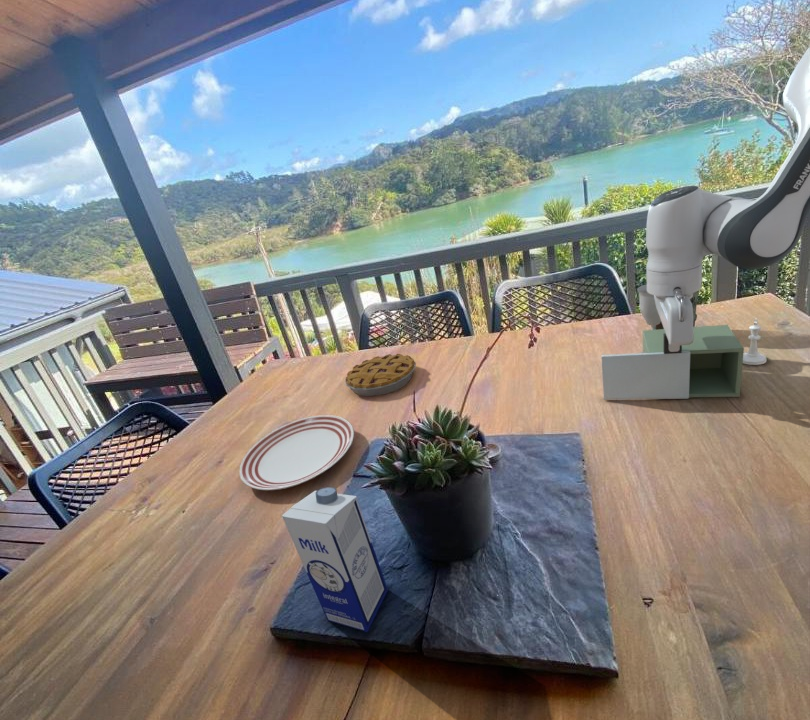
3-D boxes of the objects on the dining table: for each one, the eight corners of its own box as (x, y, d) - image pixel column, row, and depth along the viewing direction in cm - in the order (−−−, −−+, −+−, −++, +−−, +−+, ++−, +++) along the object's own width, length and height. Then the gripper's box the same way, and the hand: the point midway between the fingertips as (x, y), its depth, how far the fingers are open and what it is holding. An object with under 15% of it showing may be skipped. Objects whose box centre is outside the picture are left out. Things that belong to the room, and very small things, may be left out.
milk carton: (326, 620, 62) (279, 514, 55) (349, 580, 68) (310, 479, 60) (368, 632, 59) (325, 522, 52) (389, 589, 65) (353, 484, 57)
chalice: (644, 349, 113) (643, 282, 107) (673, 352, 109) (674, 283, 102) (633, 361, 109) (632, 292, 102) (663, 365, 104) (664, 293, 97)
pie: (404, 397, 119) (400, 381, 117) (336, 400, 127) (331, 385, 126) (426, 362, 138) (423, 348, 136) (365, 366, 146) (361, 353, 144)
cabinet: (739, 396, 87) (744, 348, 83) (648, 397, 94) (648, 352, 89) (724, 369, 97) (727, 324, 93) (643, 372, 104) (642, 330, 99)
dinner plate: (320, 503, 86) (315, 490, 85) (218, 494, 97) (212, 482, 96) (375, 425, 109) (371, 414, 108) (287, 425, 120) (283, 415, 119)
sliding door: (689, 399, 89) (691, 334, 84) (603, 400, 96) (600, 339, 90) (688, 396, 90) (690, 331, 85) (603, 397, 97) (600, 337, 91)
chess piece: (736, 363, 98) (739, 322, 94) (740, 354, 101) (743, 314, 97) (764, 366, 94) (769, 323, 91) (768, 356, 98) (772, 315, 94)
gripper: (705, 296, 71) (702, 370, 77) (683, 264, 88) (682, 326, 94) (661, 300, 74) (661, 372, 79) (648, 268, 91) (649, 329, 96)
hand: (672, 347), depth 87 cm, fingers closed on sliding door
